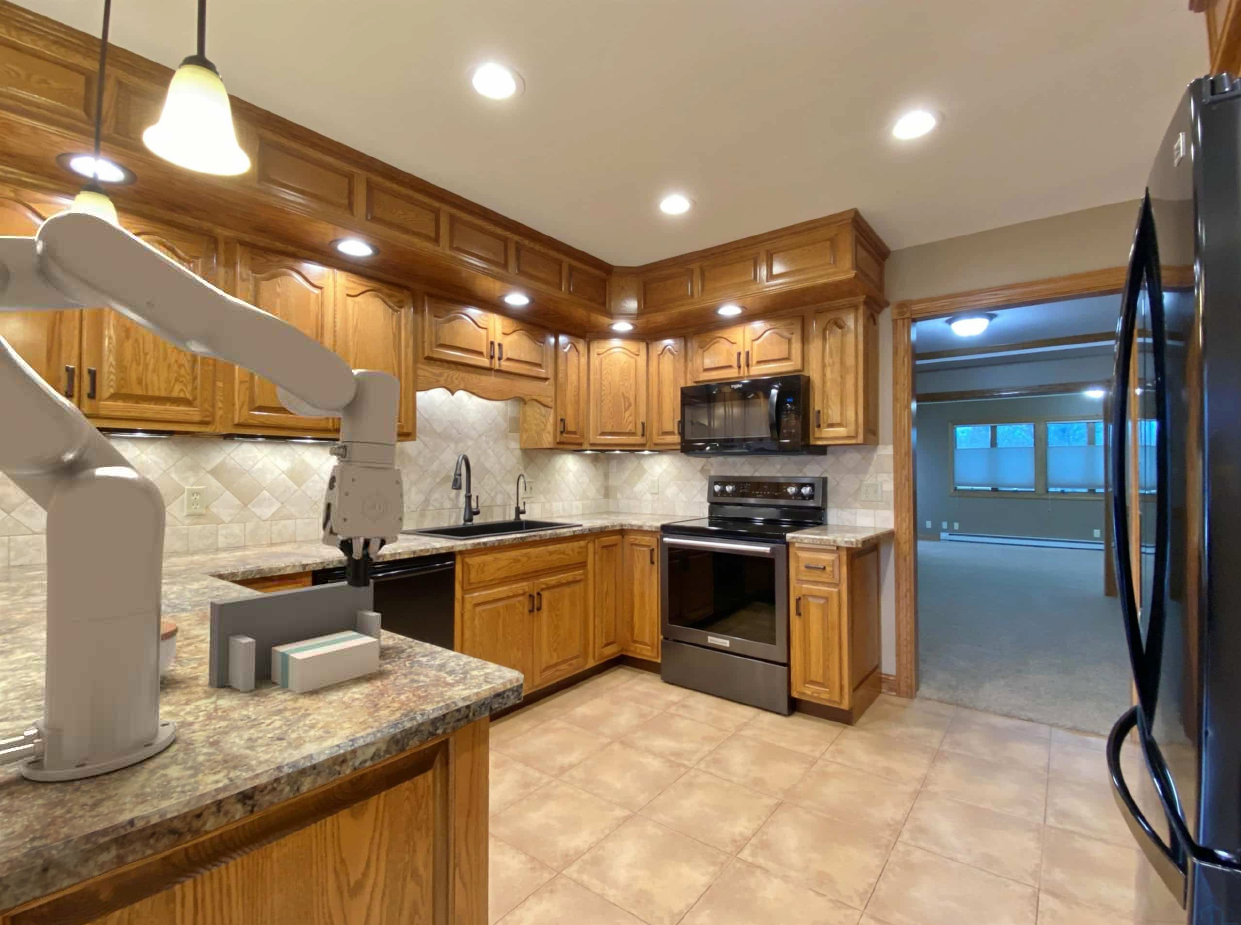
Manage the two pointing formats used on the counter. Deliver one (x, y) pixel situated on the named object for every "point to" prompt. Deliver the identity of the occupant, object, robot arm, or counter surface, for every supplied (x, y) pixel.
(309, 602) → the display stand
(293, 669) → the carton
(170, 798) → the counter surface
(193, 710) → the counter surface
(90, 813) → the counter surface
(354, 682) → the counter surface
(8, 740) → the robot arm
